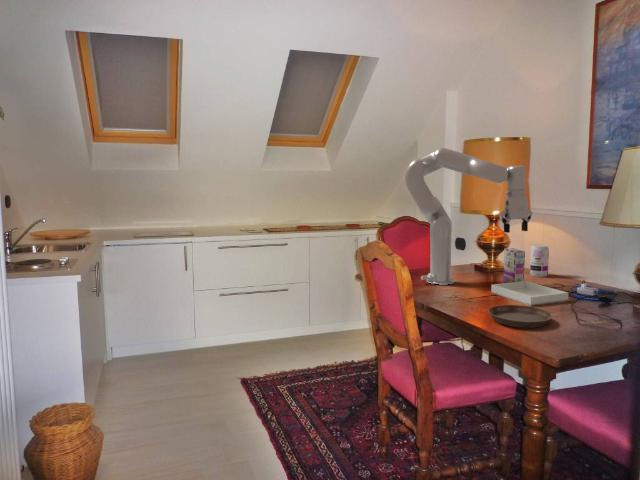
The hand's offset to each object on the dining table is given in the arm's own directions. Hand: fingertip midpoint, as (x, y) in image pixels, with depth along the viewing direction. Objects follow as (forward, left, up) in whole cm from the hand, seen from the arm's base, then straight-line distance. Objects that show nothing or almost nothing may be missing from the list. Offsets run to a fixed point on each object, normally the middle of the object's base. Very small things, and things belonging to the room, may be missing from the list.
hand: (515, 231), depth 229 cm
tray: (-9, -20, -25) cm, 33 cm away
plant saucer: (-35, -46, -25) cm, 63 cm away
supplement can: (+25, +12, -25) cm, 37 cm away
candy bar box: (0, 0, -25) cm, 25 cm away
